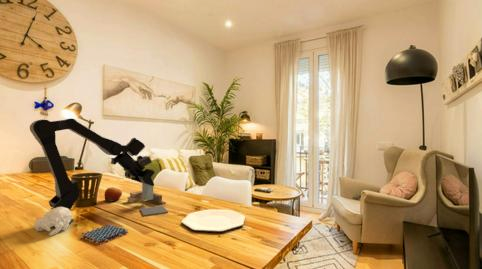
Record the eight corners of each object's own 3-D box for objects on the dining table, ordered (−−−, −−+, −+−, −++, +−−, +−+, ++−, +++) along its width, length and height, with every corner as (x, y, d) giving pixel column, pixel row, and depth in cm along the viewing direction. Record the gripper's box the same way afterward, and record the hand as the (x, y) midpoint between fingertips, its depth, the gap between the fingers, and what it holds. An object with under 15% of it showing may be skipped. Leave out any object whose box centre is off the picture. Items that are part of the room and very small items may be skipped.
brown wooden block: (158, 205, 113) (159, 196, 113) (146, 200, 121) (146, 192, 121) (165, 203, 116) (165, 194, 116) (153, 199, 124) (153, 191, 124)
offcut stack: (131, 203, 116) (131, 194, 116) (127, 201, 119) (127, 193, 119) (145, 200, 121) (145, 192, 121) (140, 199, 124) (141, 190, 124)
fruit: (96, 200, 116) (104, 184, 120) (108, 204, 122) (114, 189, 126) (109, 201, 114) (116, 185, 118) (120, 206, 120) (126, 191, 124)
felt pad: (143, 216, 97) (143, 215, 97) (140, 210, 105) (140, 208, 105) (167, 212, 102) (168, 211, 102) (163, 207, 110) (163, 205, 110)
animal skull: (56, 209, 76) (26, 211, 78) (57, 236, 76) (27, 236, 78) (73, 204, 82) (45, 205, 84) (74, 229, 82) (46, 229, 84)
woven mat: (99, 247, 70) (99, 240, 70) (79, 239, 75) (79, 233, 75) (130, 234, 80) (130, 228, 80) (110, 229, 84) (110, 223, 85)
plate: (246, 214, 103) (246, 210, 103) (241, 236, 79) (241, 231, 79) (193, 211, 105) (194, 208, 105) (173, 232, 81) (173, 228, 81)
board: (147, 200, 110) (147, 181, 111) (141, 198, 114) (142, 179, 114) (153, 199, 113) (153, 180, 113) (147, 197, 116) (148, 179, 116)
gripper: (151, 151, 105) (172, 173, 113) (131, 149, 117) (151, 170, 125) (133, 170, 98) (156, 192, 107) (114, 166, 110) (136, 187, 119)
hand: (150, 184), depth 114 cm, fingers closed on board, 5 cm apart
